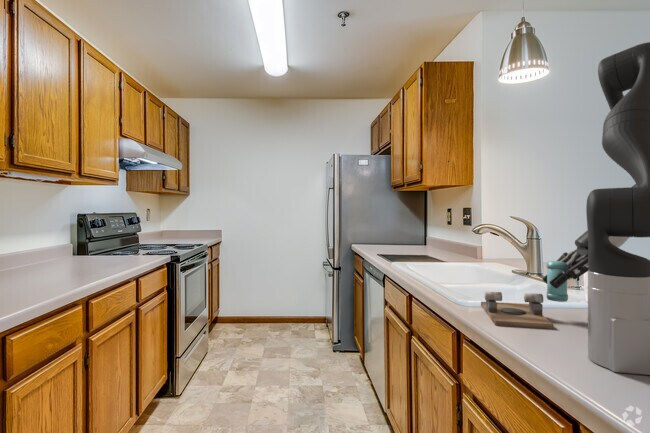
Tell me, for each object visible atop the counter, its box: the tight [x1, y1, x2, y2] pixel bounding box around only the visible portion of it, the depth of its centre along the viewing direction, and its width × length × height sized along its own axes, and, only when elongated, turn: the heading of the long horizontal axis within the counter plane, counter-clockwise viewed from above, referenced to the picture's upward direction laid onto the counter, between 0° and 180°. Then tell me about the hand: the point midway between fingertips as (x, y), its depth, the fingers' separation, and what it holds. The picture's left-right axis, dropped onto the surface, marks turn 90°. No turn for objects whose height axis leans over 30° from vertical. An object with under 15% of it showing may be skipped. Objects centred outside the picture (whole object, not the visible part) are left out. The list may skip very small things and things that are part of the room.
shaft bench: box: [480, 291, 554, 330], centre depth 93 cm, size 18×14×6 cm
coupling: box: [546, 260, 569, 303], centre depth 90 cm, size 5×5×10 cm
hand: (549, 283), depth 91 cm, fingers closed on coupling, 4 cm apart
